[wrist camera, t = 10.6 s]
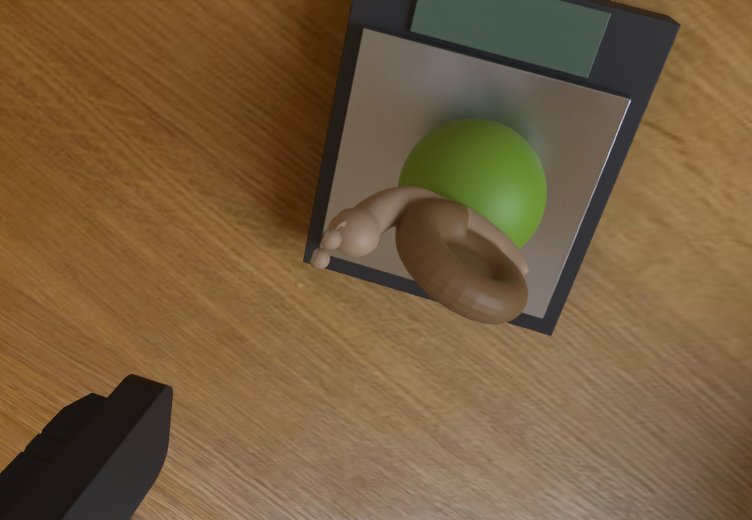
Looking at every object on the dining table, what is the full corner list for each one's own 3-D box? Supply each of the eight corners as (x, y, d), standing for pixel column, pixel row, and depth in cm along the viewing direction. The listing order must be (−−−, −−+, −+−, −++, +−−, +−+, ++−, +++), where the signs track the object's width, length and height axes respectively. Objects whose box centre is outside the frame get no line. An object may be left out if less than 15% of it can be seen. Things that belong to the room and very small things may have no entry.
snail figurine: (432, 62, 26) (362, 158, 16) (574, 149, 26) (599, 300, 16) (366, 175, 29) (269, 324, 18) (496, 254, 29) (474, 443, 19)
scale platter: (367, 24, 27) (363, 27, 26) (629, 94, 26) (631, 99, 25) (322, 245, 32) (318, 252, 31) (543, 310, 31) (543, 319, 30)
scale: (376, -59, 28) (361, -57, 25) (669, 15, 27) (682, 25, 24) (317, 240, 34) (301, 264, 32) (550, 308, 33) (551, 339, 31)
